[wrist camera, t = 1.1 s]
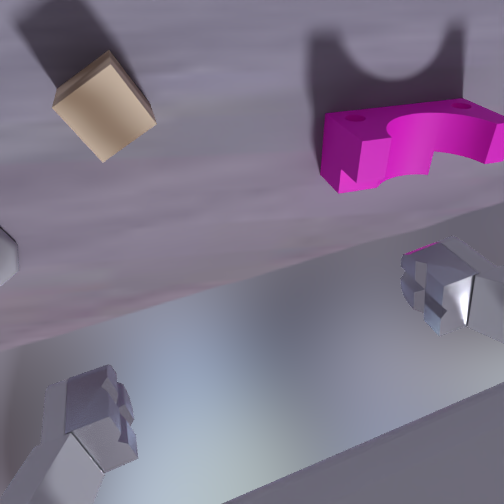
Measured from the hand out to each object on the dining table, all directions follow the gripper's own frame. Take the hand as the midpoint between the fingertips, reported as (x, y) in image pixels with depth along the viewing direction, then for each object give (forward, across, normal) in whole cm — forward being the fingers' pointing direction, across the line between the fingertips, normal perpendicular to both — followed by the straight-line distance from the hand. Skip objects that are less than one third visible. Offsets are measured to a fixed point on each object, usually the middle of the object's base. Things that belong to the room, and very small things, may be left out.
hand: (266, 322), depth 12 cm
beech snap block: (+30, +3, +1) cm, 30 cm away
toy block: (+30, -22, +12) cm, 39 cm away
